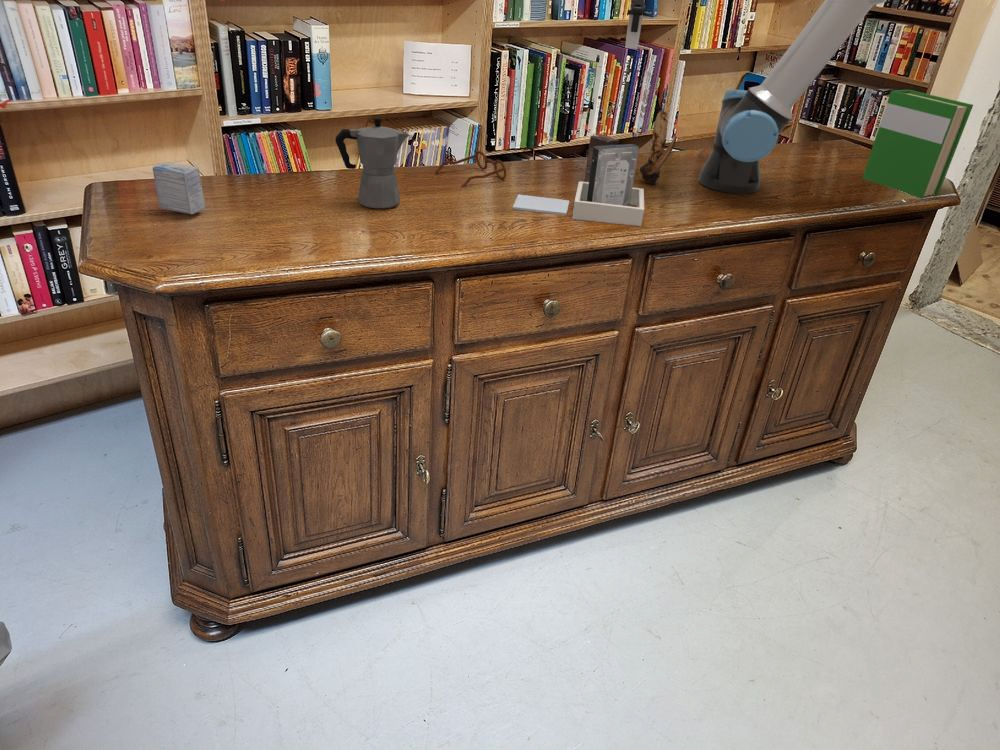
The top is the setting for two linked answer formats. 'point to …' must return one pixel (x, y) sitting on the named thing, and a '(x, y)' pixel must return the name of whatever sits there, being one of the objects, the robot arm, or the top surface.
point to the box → (597, 141)
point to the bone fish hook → (657, 150)
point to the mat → (541, 204)
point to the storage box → (609, 208)
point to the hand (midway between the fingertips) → (631, 44)
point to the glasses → (479, 166)
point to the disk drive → (612, 174)
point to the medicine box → (179, 187)
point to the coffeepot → (375, 162)
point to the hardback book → (916, 142)
